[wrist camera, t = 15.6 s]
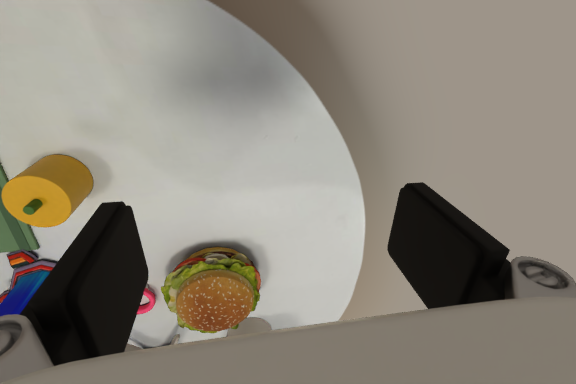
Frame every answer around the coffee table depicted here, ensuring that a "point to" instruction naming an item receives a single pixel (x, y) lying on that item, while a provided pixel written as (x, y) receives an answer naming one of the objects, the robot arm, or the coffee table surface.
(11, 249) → the green grooved tray
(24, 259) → the fantasy tower
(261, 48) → the coffee table surface
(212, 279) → the food
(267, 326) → the beige solid cylinder
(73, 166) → the yellow stemmed cylinder
